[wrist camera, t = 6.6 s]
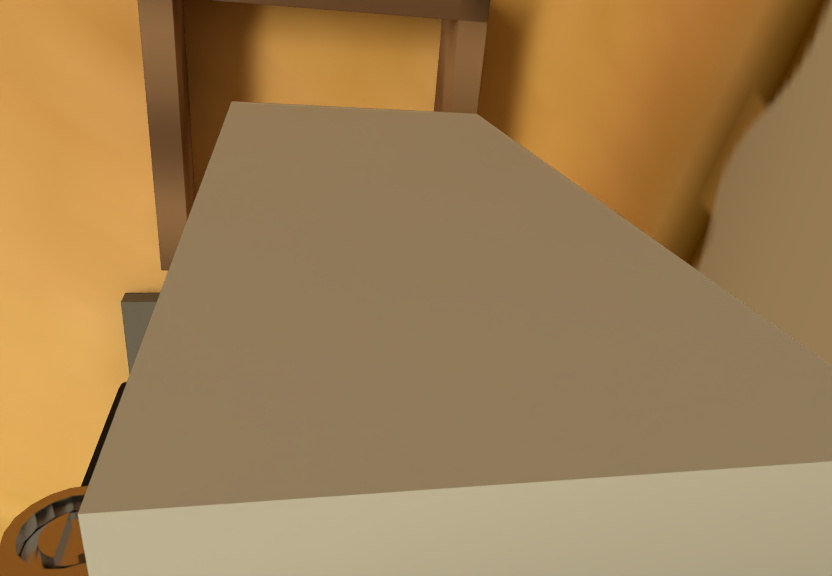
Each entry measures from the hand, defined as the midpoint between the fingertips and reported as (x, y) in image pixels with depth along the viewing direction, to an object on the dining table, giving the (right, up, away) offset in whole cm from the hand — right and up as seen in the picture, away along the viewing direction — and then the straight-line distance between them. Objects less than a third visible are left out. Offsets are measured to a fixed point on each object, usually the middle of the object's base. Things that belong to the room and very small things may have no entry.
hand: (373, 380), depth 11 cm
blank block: (-1, +2, +4) cm, 4 cm away
